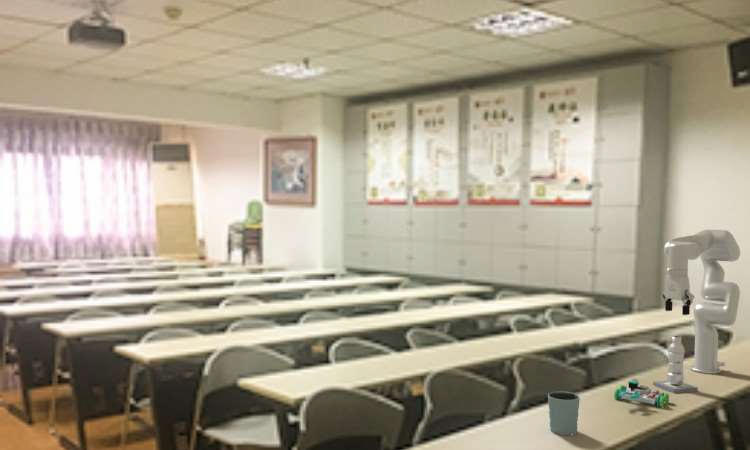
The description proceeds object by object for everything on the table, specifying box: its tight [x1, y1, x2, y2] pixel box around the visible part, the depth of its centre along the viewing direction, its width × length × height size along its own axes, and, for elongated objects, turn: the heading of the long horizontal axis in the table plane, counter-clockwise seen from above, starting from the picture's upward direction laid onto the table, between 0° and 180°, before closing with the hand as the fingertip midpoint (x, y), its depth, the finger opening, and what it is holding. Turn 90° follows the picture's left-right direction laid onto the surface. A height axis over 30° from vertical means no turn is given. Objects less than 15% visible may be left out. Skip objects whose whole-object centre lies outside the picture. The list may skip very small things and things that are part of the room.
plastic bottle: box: [666, 335, 686, 385], centre depth 272 cm, size 6×7×20 cm
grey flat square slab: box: [652, 380, 699, 394], centre depth 272 cm, size 12×12×2 cm
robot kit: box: [613, 378, 670, 408], centre depth 250 cm, size 19×25×9 cm
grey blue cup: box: [547, 390, 581, 436], centre depth 217 cm, size 10×10×12 cm
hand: (677, 312), depth 278 cm, fingers open, 9 cm apart
